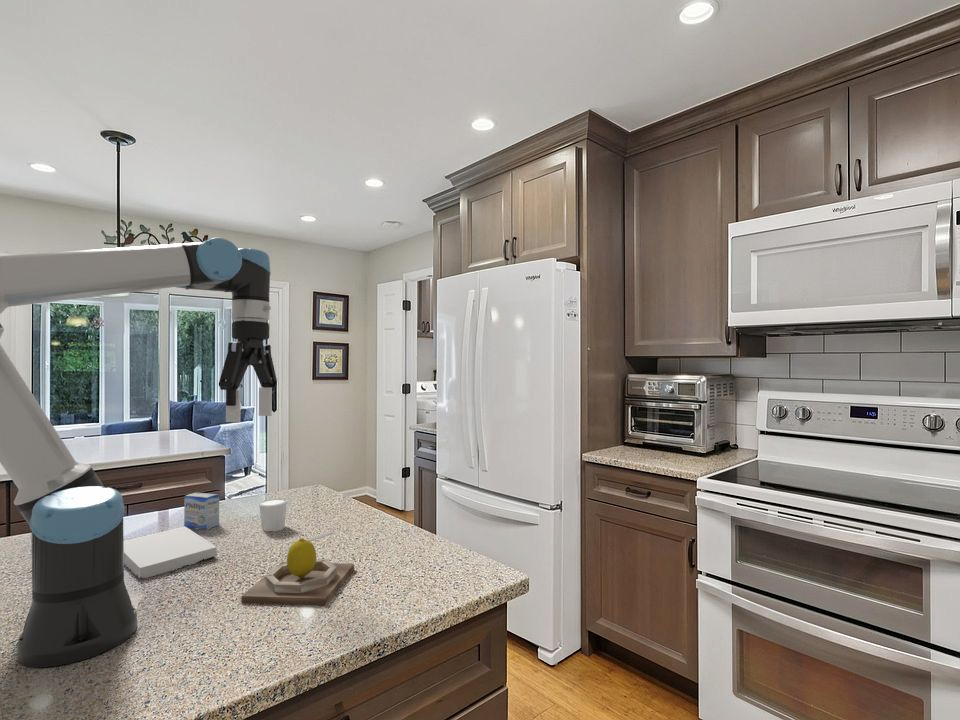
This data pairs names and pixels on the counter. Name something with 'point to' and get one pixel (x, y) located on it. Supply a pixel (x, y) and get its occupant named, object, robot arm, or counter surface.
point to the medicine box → (201, 510)
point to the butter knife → (318, 536)
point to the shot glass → (273, 514)
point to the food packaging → (165, 551)
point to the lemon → (301, 558)
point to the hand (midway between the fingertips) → (250, 418)
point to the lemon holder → (299, 585)
